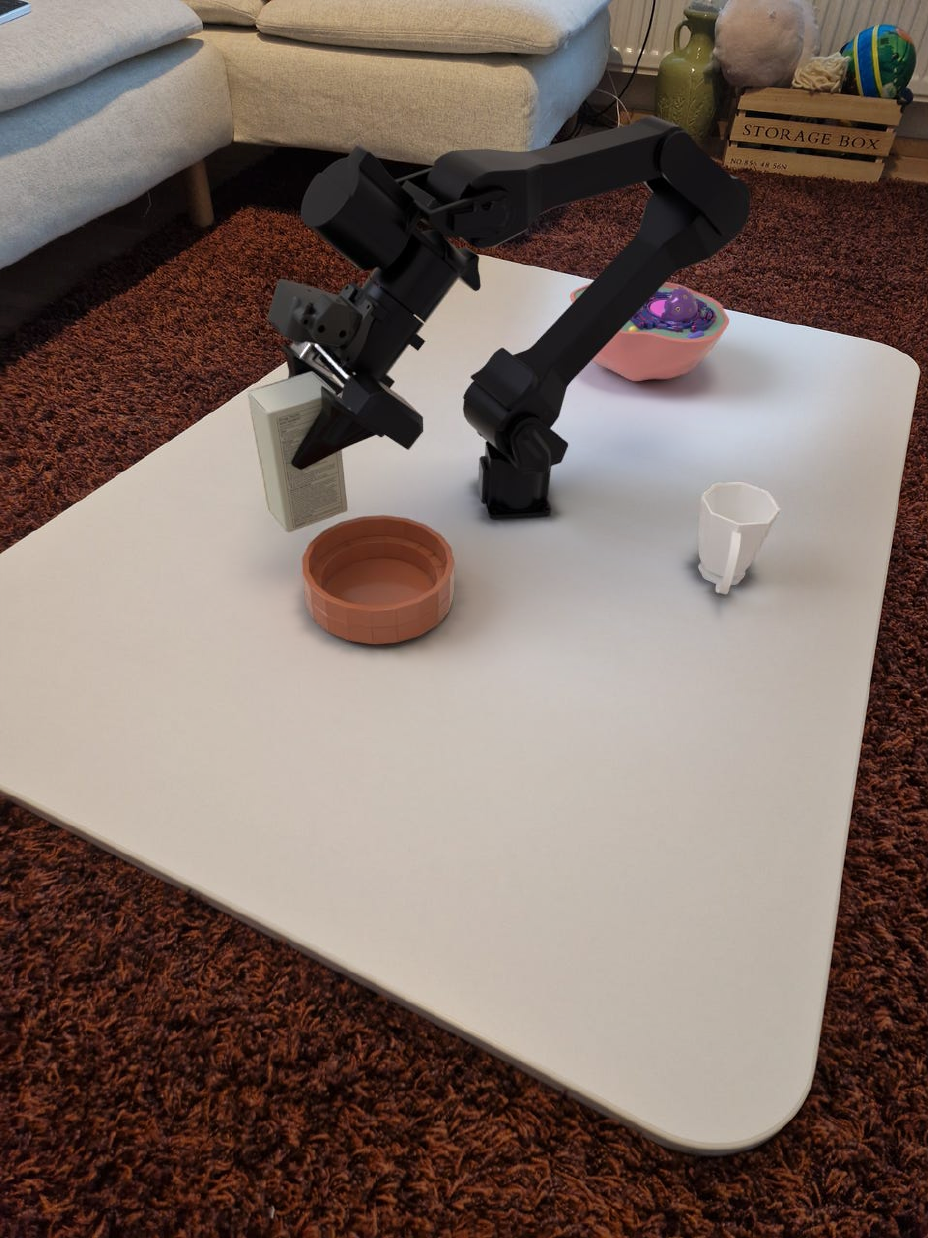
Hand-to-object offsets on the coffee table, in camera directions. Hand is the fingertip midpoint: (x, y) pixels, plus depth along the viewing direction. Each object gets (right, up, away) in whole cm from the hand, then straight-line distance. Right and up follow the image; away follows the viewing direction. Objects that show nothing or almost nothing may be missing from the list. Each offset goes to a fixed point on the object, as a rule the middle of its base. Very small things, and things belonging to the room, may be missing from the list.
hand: (284, 453), depth 78 cm
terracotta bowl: (+8, -12, +6) cm, 15 cm away
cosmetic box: (+1, -4, +5) cm, 7 cm away
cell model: (+38, +18, +40) cm, 58 cm away
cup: (+39, -11, +9) cm, 42 cm away
